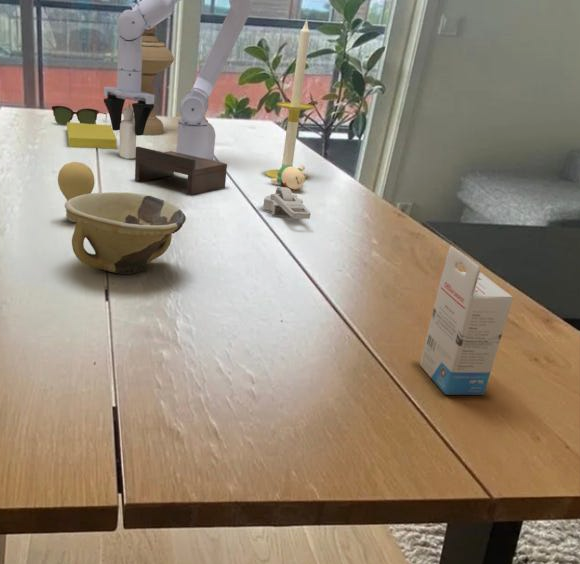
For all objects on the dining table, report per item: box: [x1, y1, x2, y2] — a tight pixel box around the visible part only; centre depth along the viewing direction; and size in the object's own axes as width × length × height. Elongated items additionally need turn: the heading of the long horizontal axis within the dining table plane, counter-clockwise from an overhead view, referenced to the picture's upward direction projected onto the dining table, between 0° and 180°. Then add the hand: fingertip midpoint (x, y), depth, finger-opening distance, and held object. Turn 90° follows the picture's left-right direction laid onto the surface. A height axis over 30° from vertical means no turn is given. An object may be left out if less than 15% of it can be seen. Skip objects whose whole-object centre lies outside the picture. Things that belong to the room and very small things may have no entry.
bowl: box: [64, 191, 187, 275], centre depth 115 cm, size 18×18×10 cm
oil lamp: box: [132, 0, 175, 136], centre depth 213 cm, size 15×15×40 cm
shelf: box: [134, 146, 228, 196], centre depth 167 cm, size 12×16×7 cm
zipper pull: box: [262, 186, 312, 220], centre depth 149 cm, size 8×18×4 cm, turn 7°
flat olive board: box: [66, 121, 117, 150], centre depth 207 cm, size 12×2×24 cm
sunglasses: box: [51, 105, 108, 126], centre depth 229 cm, size 14×15×5 cm
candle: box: [264, 19, 315, 180], centre depth 175 cm, size 10×10×32 cm
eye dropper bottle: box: [118, 103, 137, 160], centre depth 187 cm, size 4×6×12 cm
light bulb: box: [57, 161, 96, 223], centre depth 136 cm, size 6×6×10 cm
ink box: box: [419, 245, 514, 396], centre depth 87 cm, size 9×5×15 cm, turn 5°
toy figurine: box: [270, 164, 306, 191], centre depth 172 cm, size 8×4×12 cm
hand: (127, 132), depth 188 cm, fingers open, 7 cm apart
